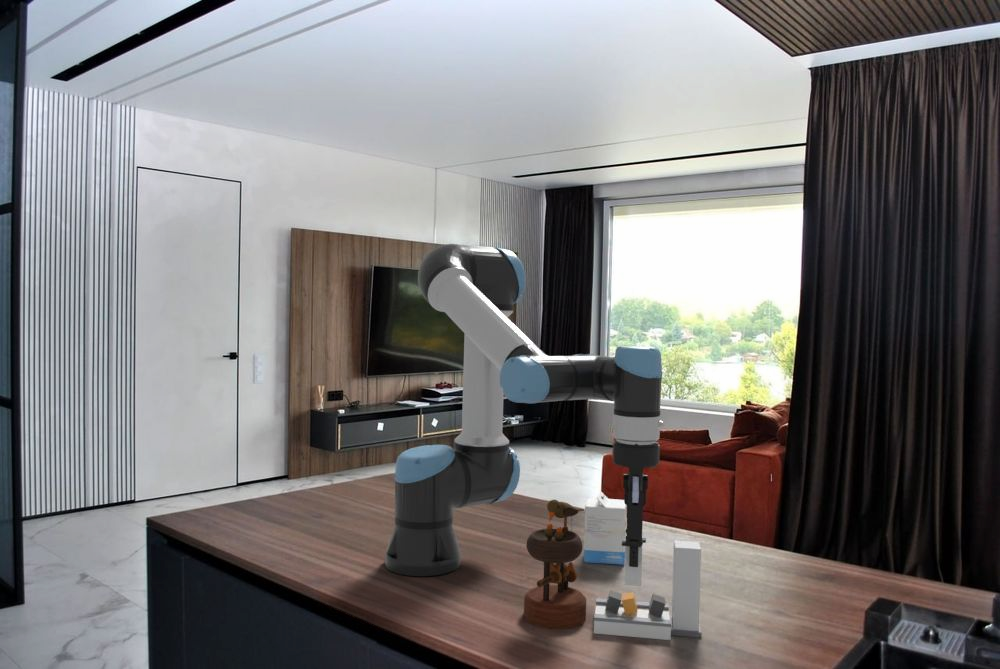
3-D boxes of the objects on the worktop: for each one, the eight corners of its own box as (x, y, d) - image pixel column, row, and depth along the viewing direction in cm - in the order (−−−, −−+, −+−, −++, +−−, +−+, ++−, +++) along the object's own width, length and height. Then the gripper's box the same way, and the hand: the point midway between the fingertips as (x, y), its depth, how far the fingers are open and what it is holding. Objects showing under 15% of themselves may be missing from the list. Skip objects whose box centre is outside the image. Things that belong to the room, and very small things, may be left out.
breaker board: (593, 633, 123) (594, 617, 123) (596, 612, 132) (596, 597, 131) (670, 640, 121) (670, 624, 121) (667, 618, 130) (668, 603, 129)
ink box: (624, 566, 156) (626, 500, 156) (583, 562, 158) (584, 497, 158) (626, 553, 165) (627, 491, 165) (587, 550, 167) (588, 488, 166)
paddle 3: (648, 613, 124) (653, 599, 124) (648, 607, 127) (652, 593, 127) (661, 617, 124) (665, 603, 124) (660, 611, 127) (664, 597, 126)
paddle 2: (625, 614, 125) (621, 600, 125) (625, 608, 128) (622, 594, 128) (637, 612, 125) (633, 598, 125) (637, 606, 127) (633, 592, 127)
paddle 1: (605, 609, 125) (609, 596, 125) (605, 603, 128) (610, 590, 128) (617, 614, 125) (621, 600, 125) (617, 607, 128) (621, 594, 128)
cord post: (670, 634, 123) (672, 548, 122) (669, 623, 127) (671, 539, 127) (701, 637, 122) (703, 550, 122) (698, 625, 127) (701, 541, 126)
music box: (537, 597, 138) (549, 487, 137) (596, 613, 134) (608, 500, 132) (502, 627, 124) (515, 506, 123) (566, 646, 120) (580, 520, 118)
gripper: (661, 448, 118) (657, 600, 119) (658, 435, 131) (654, 572, 132) (612, 446, 120) (608, 596, 120) (614, 433, 132) (610, 569, 133)
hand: (632, 583), depth 126 cm, fingers closed
